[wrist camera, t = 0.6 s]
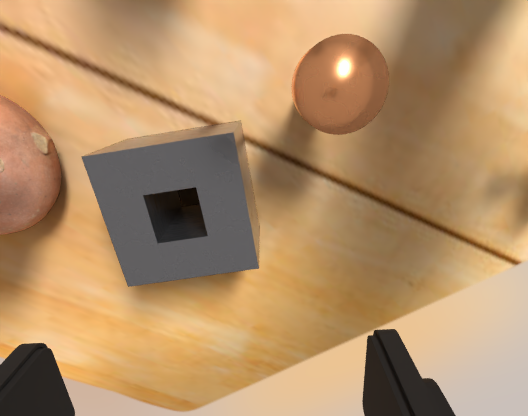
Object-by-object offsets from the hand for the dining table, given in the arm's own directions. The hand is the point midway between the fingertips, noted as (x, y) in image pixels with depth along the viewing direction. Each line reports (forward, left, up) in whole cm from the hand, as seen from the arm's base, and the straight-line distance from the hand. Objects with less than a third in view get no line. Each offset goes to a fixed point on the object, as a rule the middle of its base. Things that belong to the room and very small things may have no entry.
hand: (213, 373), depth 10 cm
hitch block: (+6, +1, -27) cm, 27 cm away
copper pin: (-8, -7, -27) cm, 29 cm away
